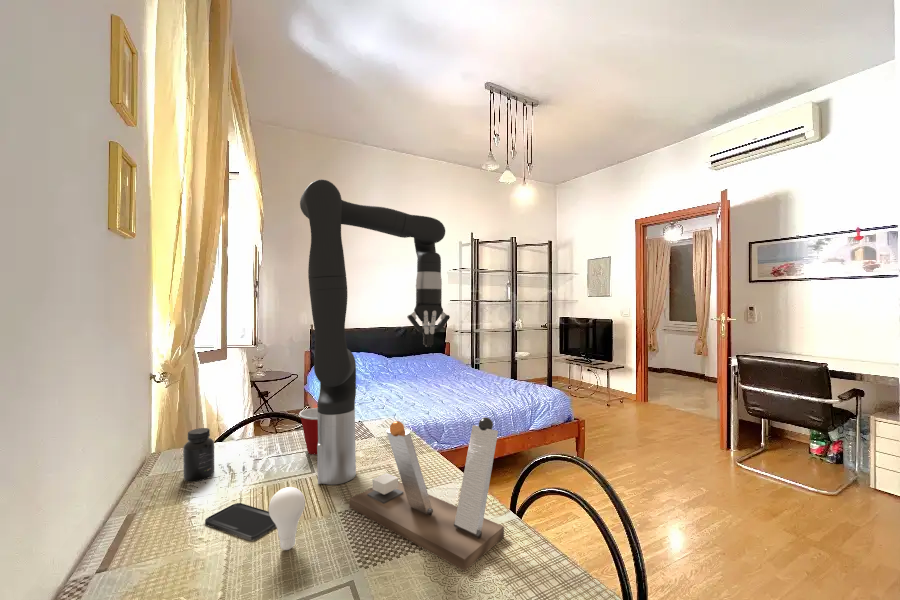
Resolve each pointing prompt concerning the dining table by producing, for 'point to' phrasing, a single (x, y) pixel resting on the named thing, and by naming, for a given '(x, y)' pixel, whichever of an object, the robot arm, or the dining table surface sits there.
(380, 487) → the white button
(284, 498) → the lightbulb
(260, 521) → the phone
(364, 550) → the dining table surface
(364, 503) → the walnut panel
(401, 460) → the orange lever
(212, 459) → the supplement bottle
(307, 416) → the plastic cup
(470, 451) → the grey upright post
